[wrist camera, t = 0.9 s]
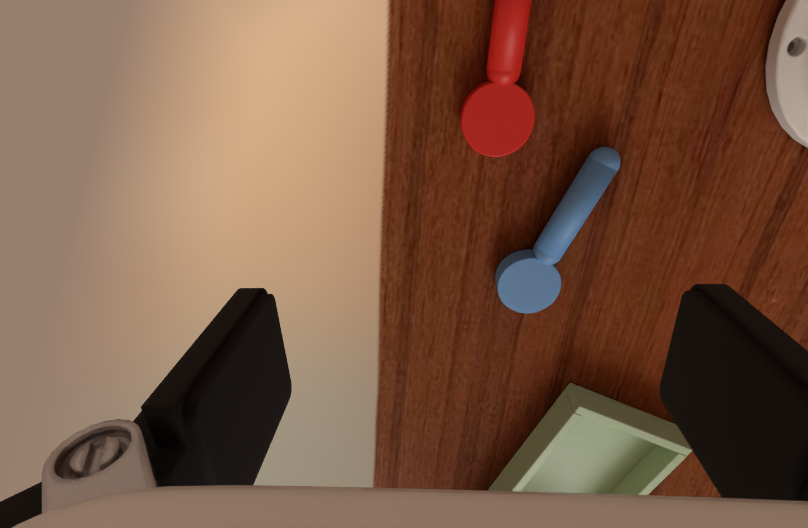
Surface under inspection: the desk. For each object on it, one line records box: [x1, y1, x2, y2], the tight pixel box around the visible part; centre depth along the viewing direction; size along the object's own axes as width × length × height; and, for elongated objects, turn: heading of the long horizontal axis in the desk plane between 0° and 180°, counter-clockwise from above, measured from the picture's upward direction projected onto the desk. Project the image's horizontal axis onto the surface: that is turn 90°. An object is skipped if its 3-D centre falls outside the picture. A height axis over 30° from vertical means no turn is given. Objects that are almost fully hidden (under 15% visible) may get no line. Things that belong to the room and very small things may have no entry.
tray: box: [487, 383, 692, 495], centre depth 36 cm, size 15×9×2 cm, turn 157°
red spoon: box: [460, 0, 535, 157], centre depth 24 cm, size 11×4×2 cm, turn 177°
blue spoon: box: [495, 147, 621, 313], centre depth 28 cm, size 11×4×2 cm, turn 157°
